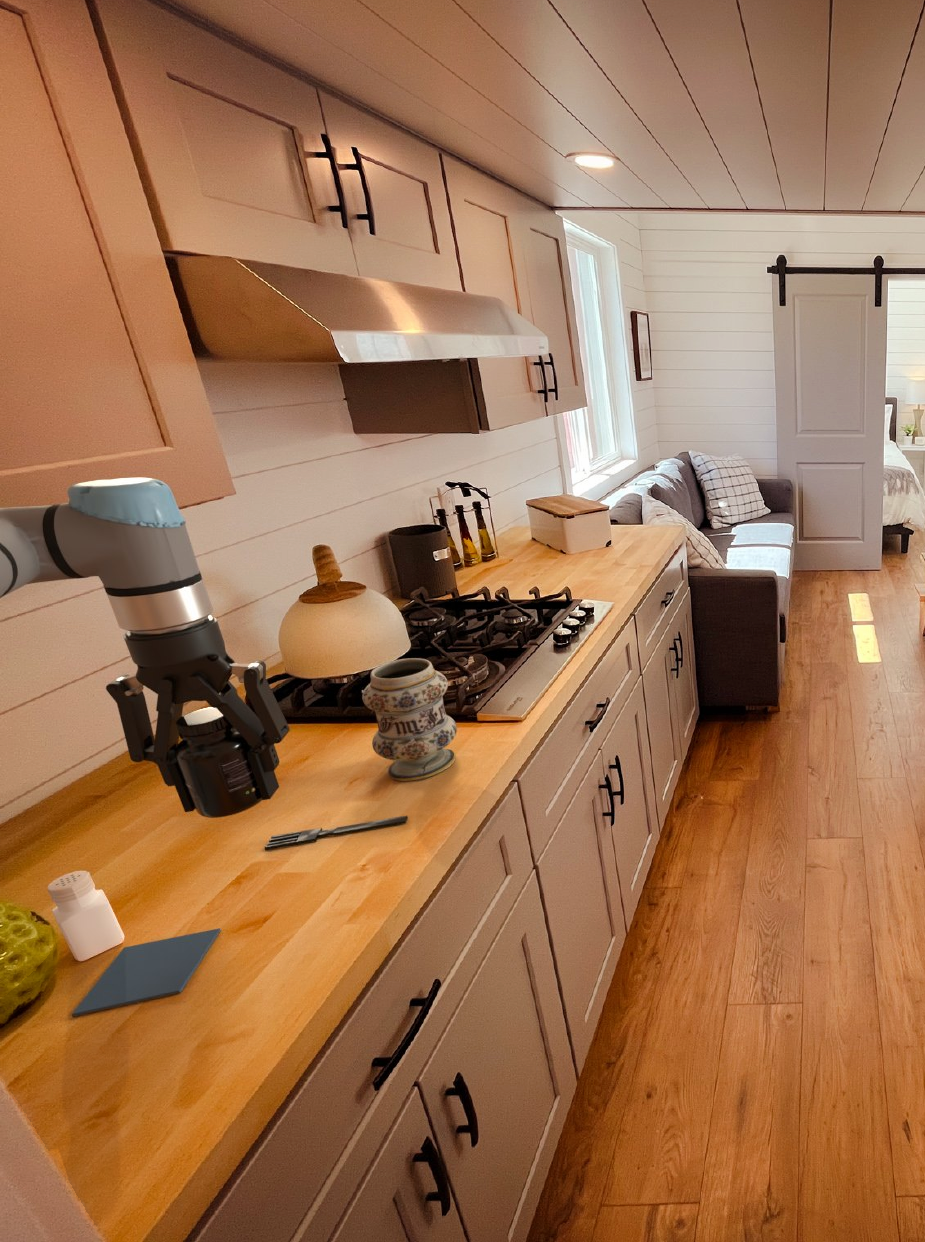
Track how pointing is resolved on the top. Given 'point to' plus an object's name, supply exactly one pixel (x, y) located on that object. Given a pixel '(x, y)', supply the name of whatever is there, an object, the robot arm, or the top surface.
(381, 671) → the apothecary jar
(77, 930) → the pepper shaker
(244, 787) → the supplement bottle
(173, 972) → the dark blue square coaster
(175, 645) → the robot arm
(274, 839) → the fork
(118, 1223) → the top surface
